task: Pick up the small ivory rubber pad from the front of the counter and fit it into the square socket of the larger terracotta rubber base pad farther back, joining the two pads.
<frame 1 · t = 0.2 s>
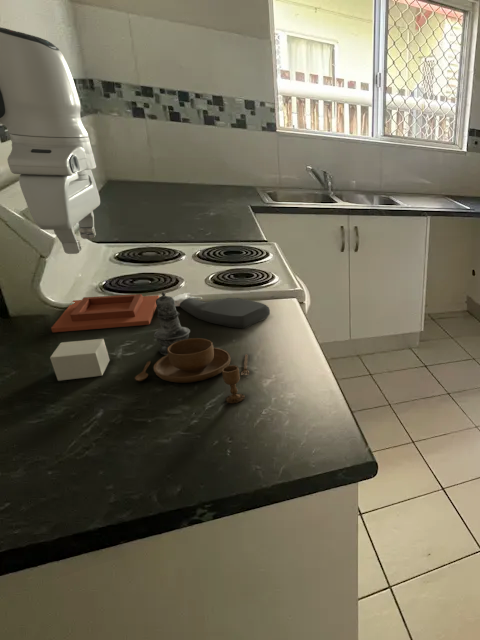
hand: (81, 245, 78), 22 cm above the worktop, tool pointing down, fingers open, 8 cm apart
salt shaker: (175, 349, 94), on the worktop
base pad: (111, 314, 105), on the worktop
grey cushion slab: (214, 313, 111), on the worktop
pad: (85, 370, 84), on the worktop
place setting: (194, 380, 84), on the worktop
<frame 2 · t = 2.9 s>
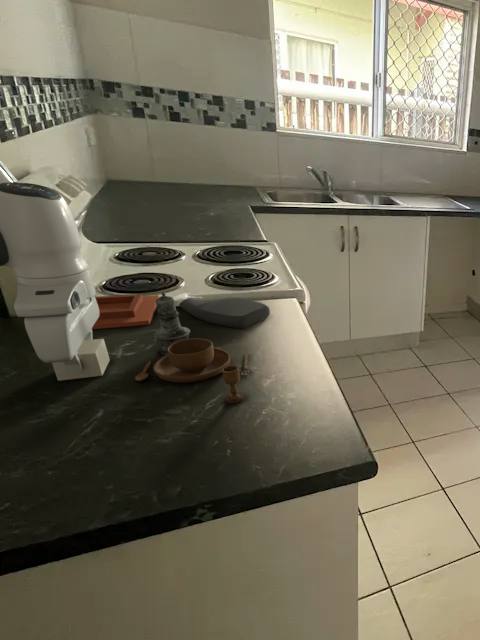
hand: (82, 361, 83), 2 cm above the worktop, tool pointing down, fingers closed on pad, 6 cm apart
pad: (85, 370, 84), on the worktop, touching gripper
everything else where it was.
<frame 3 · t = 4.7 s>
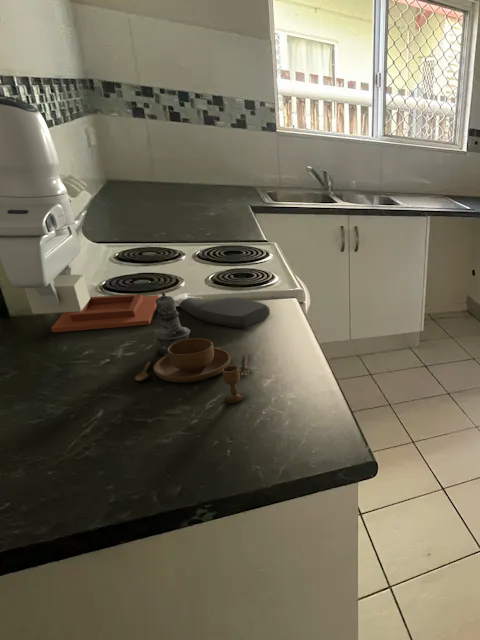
hand: (59, 296, 78), 14 cm above the worktop, tool pointing down, fingers closed on pad, 6 cm apart
pad: (63, 306, 79), point 12 cm above the worktop, touching gripper
everything else where it was.
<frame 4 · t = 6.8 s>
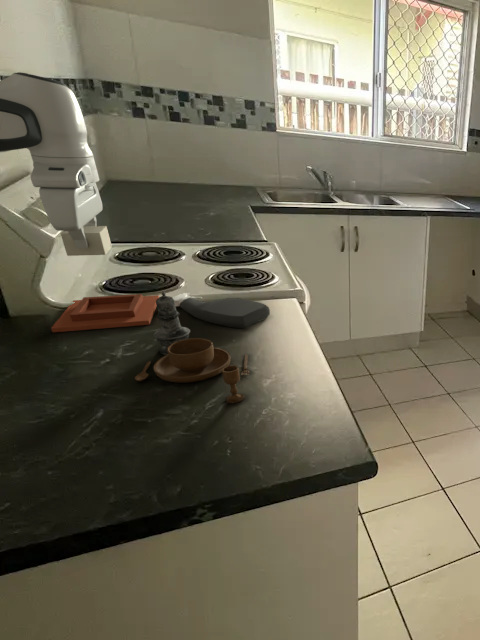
hand: (87, 242, 96), 17 cm above the worktop, tool pointing down, fingers closed on pad, 6 cm apart
pad: (90, 251, 97), point 15 cm above the worktop, touching gripper
everything else where it was.
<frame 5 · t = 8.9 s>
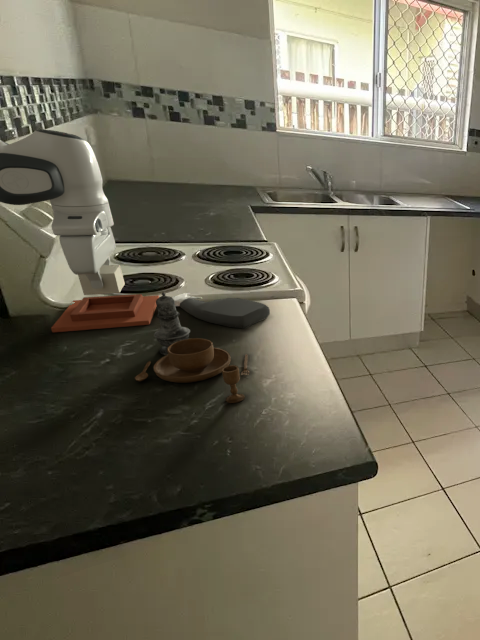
hand: (102, 281, 102), 8 cm above the worktop, tool pointing down, fingers closed on pad, 6 cm apart
pad: (105, 289, 103), point 6 cm above the worktop, touching gripper
everything else where it was.
when the fingers open (3 cm above the worktop, at t = 10.7 s): pad stays where it is, resting on base pad.
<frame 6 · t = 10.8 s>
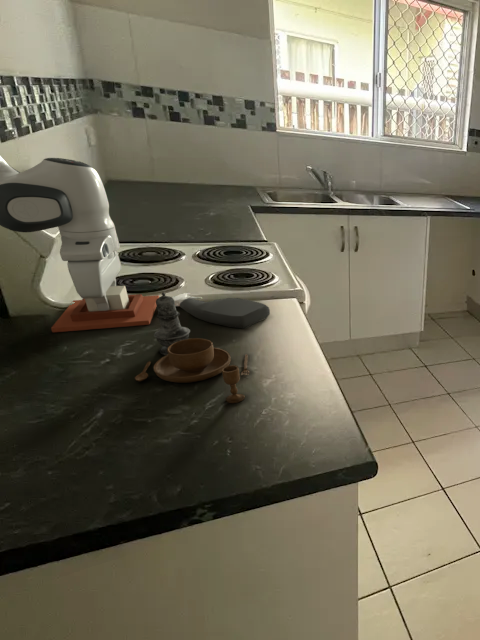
hand: (108, 303, 104), 3 cm above the worktop, tool pointing down, fingers open, 6 cm apart
pad: (110, 309, 105), point 1 cm above the worktop, touching base pad
everything else where it was.
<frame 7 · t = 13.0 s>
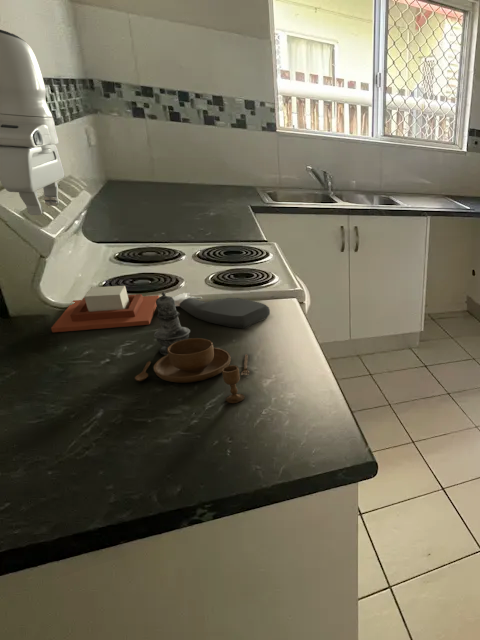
hand: (45, 209, 91), 23 cm above the worktop, tool pointing down, fingers open, 8 cm apart
nothing on the worktop moved.
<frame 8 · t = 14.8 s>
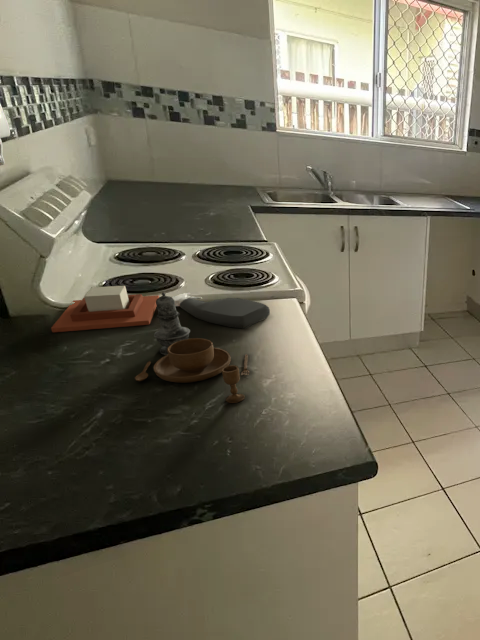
nothing on the worktop moved.
at the end: pad 0.1 cm off-centre on the base pad, point 1.0 cm above the base pad's base; pad tilted 0°; the gripper is holding nothing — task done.
